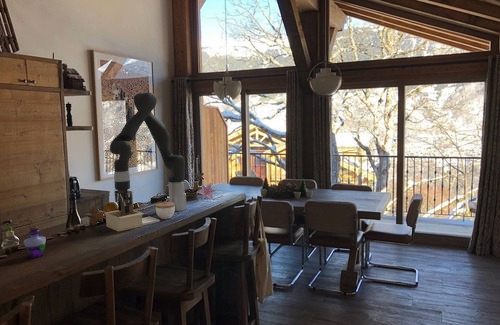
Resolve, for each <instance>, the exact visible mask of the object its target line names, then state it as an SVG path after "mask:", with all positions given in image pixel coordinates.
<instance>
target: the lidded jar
mask: <svg viewBox="0 0 500 325" xmlns="http://www.w3.org/2000/svg"><path fill="white" fill-rule="evenodd" d="M154 206H155V213H156V215H157V217H158V218H159V219H160V220H169V219H171V218H172V217H173V216H174V214H175V212H176V211H175V203H172V202H169V201H166V200H164V201H163V202H158V203H156V204H155V205H154Z"/></svg>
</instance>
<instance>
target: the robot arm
mask: <svg viewBox="0 0 500 325" xmlns="http://www.w3.org/2000/svg"><path fill="white" fill-rule="evenodd" d="M157 103H158V100H157V97H156V94H154V93H153V92H142V93H141V92H139V93H136V94H135V95H134V97H133V104H134V107H135V108H136V110H137V112H136V113H135V114H134V115H133V116H131V117H130V118H129V119H128V120H127V121H126V122H125V124H124V126H123V127H122V129H121V131H120V132H119V133H118V134H117V135H116V136H115V137H114V139H113V140H112V141H111V142H110V145H109V151H110V153H111V154H113V155H117V156H118V155H119V158H118V159H115V160H114V161H113V170H114V172H113V173H114V174H113V178H114V179H113V180H114V200H115V203H116V204H117V210H118V211H121V201H120V199H122V202H124V205H125V213H129V212H130V210H129V205H131V204H132V197H133V195H132V196H131V193H128V191H129V190H130V189H131V180H130V178H131V177H130V176H131V175H130V171H129V170H130V169H129V168H130V167H129V161H130V159H131V158H130V156H131V153H132V146H131V144H130V142H131V141H133V140H134V138H135V136H136V135H137V133H138V130H140V127H141V126H142V124H143V123H144V122H145V125H146V127H147V129H148V130H149V133H150V135H151V137H152V139H153V141H154V142H155V144H156V146H157V149H158V151H159V152H160V156H161V158H162V161H163V163H164V166H165V167H166V169H167V170H168V171H174V172H173V175H170V176H168V198H169V200H168V202H172V203H175V211H174V212H179V211H184V210H186V209H187V193H186V192H185V177H186V161H185V157H184V156H183V155H180V154H173V153H172V151H171V149H170V139H171V137H170V133H169V131H168V128H167V127H166V125H165V123H164V122H162V121H161V120H160V119H159V118H158V117H157V116H156V115H155V114H154V113H153V110H154V109H155V107H156V105H157ZM129 200H130V202H129Z"/></svg>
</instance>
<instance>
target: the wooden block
mask: <svg viewBox="0 0 500 325" xmlns="http://www.w3.org/2000/svg"><path fill="white" fill-rule="evenodd" d="M128 193H131V196H132V204H131V205H129V210H130V212H129V213H125V205H124V202H122V199H120V201H121V214H120V216H119V217H122V216H127V215H132V214H133V210H134V202H133V201H134V200H133V191H132V190H128ZM129 202H130V200H129Z"/></svg>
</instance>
